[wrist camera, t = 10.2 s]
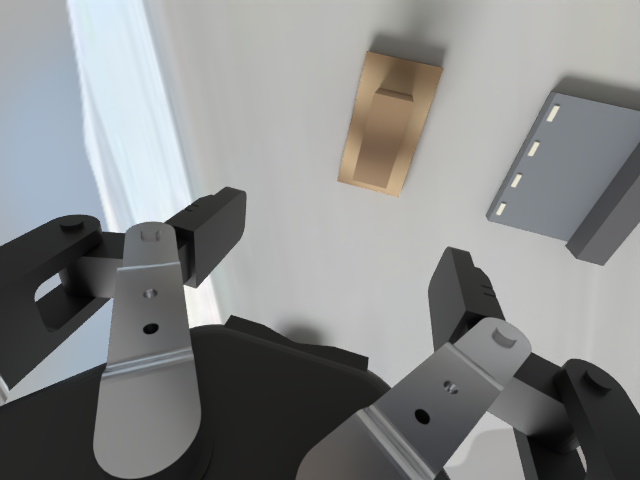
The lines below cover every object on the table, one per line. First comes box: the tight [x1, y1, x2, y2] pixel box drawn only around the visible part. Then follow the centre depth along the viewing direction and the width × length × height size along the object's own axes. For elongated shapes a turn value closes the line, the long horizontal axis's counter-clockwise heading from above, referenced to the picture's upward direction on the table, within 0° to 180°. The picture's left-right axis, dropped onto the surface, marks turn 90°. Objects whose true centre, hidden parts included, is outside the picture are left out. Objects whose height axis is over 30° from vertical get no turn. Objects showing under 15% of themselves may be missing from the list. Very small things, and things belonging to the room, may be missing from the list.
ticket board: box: [486, 92, 640, 266], centre depth 28 cm, size 13×12×4 cm
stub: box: [337, 51, 443, 197], centre depth 28 cm, size 12×7×7 cm, turn 169°
